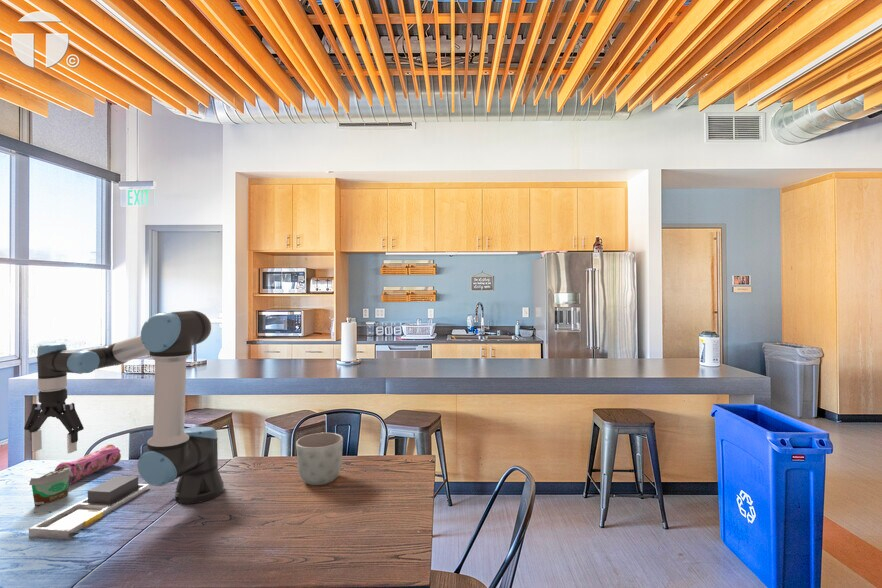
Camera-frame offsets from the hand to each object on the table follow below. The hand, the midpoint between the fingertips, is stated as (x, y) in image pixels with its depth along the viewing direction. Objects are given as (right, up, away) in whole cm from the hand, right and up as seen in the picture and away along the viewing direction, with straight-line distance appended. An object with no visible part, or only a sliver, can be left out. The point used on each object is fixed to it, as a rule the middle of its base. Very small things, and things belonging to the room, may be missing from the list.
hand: (54, 451), depth 157 cm
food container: (0, -17, 0) cm, 17 cm away
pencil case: (-5, -17, +22) cm, 28 cm away
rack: (+19, -17, -8) cm, 27 cm away
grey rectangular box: (+20, -16, 0) cm, 26 cm away
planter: (+87, -16, +14) cm, 90 cm away
